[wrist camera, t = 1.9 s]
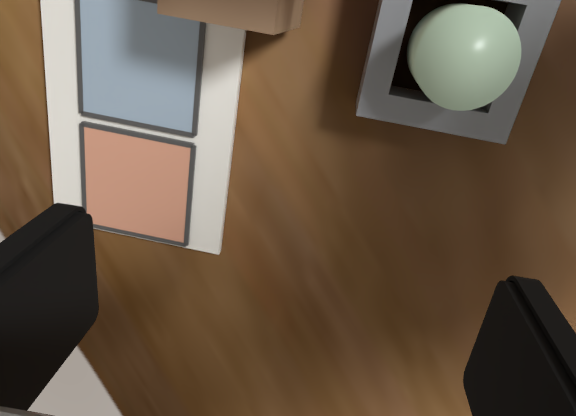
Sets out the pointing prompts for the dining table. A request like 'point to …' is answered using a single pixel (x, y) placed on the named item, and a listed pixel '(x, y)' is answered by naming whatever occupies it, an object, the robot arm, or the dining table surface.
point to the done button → (464, 55)
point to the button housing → (415, 104)
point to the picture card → (142, 117)
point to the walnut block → (238, 13)
